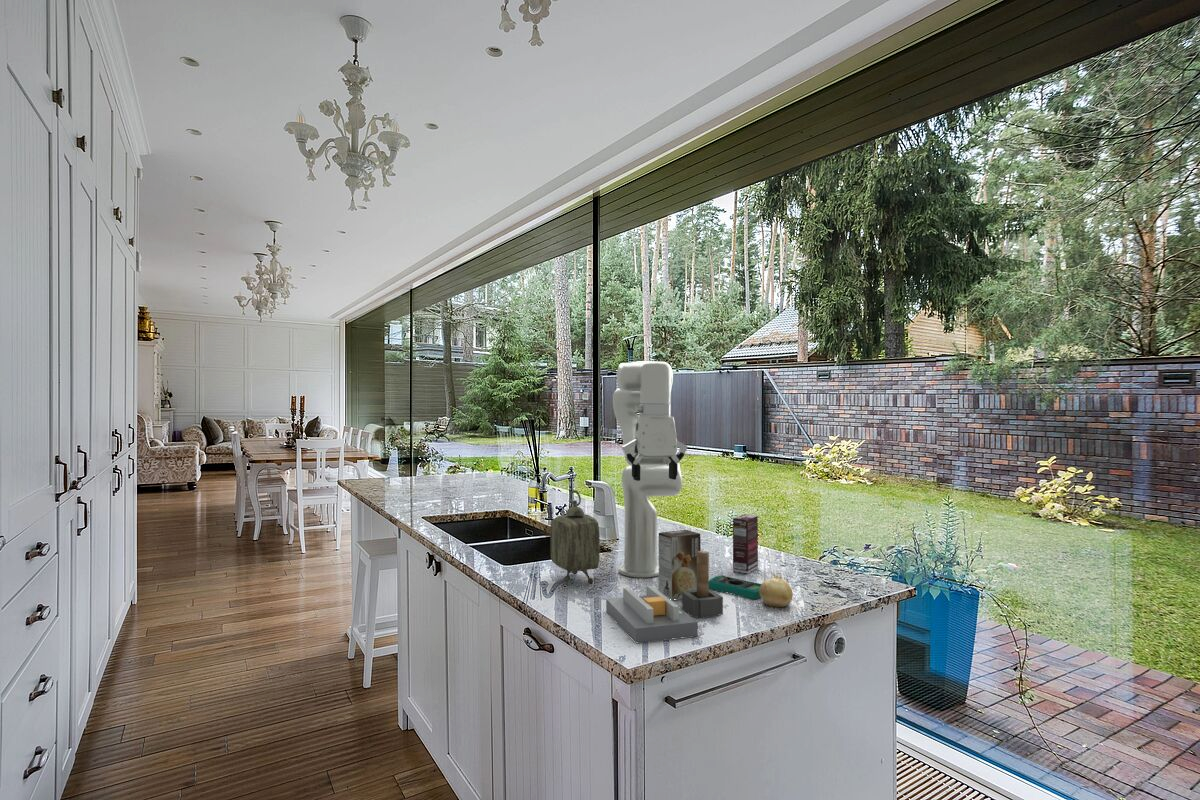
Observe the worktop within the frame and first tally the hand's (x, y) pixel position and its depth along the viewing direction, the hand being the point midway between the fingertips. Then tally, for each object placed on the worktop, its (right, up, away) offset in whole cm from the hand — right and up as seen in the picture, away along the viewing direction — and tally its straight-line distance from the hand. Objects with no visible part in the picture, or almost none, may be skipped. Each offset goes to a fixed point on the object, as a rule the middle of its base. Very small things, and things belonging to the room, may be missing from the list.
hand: (654, 479), depth 155 cm
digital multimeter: (+23, -31, +8) cm, 39 cm away
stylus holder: (+11, -30, -8) cm, 33 cm away
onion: (+30, -31, -3) cm, 43 cm away
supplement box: (+30, -31, +29) cm, 51 cm away
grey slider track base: (-3, -30, -17) cm, 34 cm away
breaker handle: (-2, -27, -19) cm, 33 cm away
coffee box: (+7, -31, +4) cm, 31 cm away
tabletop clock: (-21, -30, +17) cm, 40 cm away
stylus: (+11, -30, -8) cm, 33 cm away
